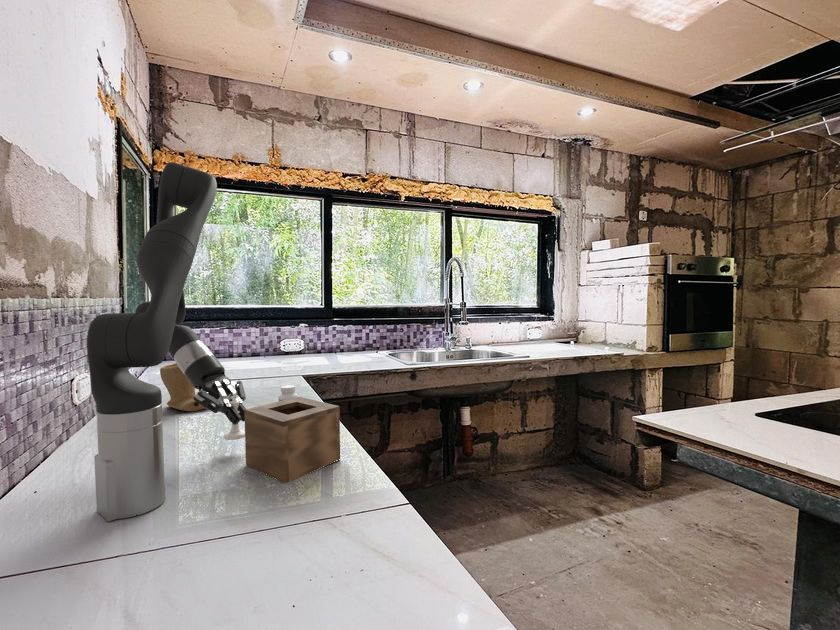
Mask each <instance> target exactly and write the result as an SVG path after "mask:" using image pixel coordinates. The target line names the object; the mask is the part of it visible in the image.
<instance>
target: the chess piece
mask: <svg viewBox="0 0 840 630" xmlns="http://www.w3.org/2000/svg"><path fill="white" fill-rule="evenodd" d="M236 398H238V395H237V396H236V393H233V396H232V397H231V399H233V401H231V402H230V404H231V406H230V407H232V406H233V407H234V409H235V410H236V411H237V413H240V411H238V410H237V409H238V405H239V401H237V400H236ZM241 439H245V429H244V430H243V429H241V428H240V425H239V423H238V424H236V425H234V424H233V423H231V428H230V429H229V430H228V431H227V432H225V433H223V440H226V441H236V440H241Z"/></svg>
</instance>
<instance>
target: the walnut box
mask: <svg viewBox="0 0 840 630" xmlns="http://www.w3.org/2000/svg"><path fill="white" fill-rule="evenodd" d="M244 413H245V421H244V431H245V437H244V442H245V444H244V446H245V447H244V448H245V451H244V452H245V466H246V465H247V466H246V467H248V468H251V469H253V470H255V471H257V472H260V473H261V472H262V473H261V474H263V473H264V475H266V474H267V475H266V476H268V475H269V476H268V477H270V476H271V478H272V477H274V478H276V479H277V481H278V480H279V481H278V482H281V483H283V484H286V483H289V482H291V481H293V479H294V480H296V479H298V477H299V478H301V477H303V475H304V476H306V475H308V473H309V474H311V473H313V472H315V471H314V470H316V471H318V470H320V469H319V468H321V467H323V466H326V465H328V464H330V463H332V462H334V461H336V460H339V459H340V460H341V425H340V424H341V422H340V420H341V419H340V418H341V417H340V416H341V415H340V413H341V412H340V405H336V404H332V403H327V402H325V401H319V400H315V399H311V398H306V397H303V396H298V397H297V398H292V399H288V400H284V401H279V400H278V401H276V402H272V403H267V404H263V405H258V406H255V407H249V408H246V409H245V410H244ZM328 466H329V465H328ZM326 467H327V466H326ZM323 468H324V467H323ZM317 469H318V470H317ZM321 469H322V468H321ZM312 471H313V472H312ZM310 472H311V473H310ZM274 478H273V479H274ZM295 478H296V479H295ZM276 479H275V480H276ZM290 480H291V481H290Z"/></svg>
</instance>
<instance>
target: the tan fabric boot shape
mask: <svg viewBox="0 0 840 630" xmlns="http://www.w3.org/2000/svg"><path fill="white" fill-rule="evenodd" d="M159 373H160V374H159V375H160V379H161V381H162V383H163V385H164V387H165V388H166V390H167V393H168V394H169V397H170V399H169V400H168V401H167V402H166V405H167V406H168V407H169V408H172V409H177V410H179V411H185V412H197V411H201V410H203V409H207V408H206V407H204V406H202V405H201V404H199V403H198V402H196V401H195V400H194V399H193V398H194V397H195V395H196V394H197V393H196V389H195V388H194V387H193V385H192V384H191V383H190V381H189V380H188V379H187V377H186V376H185V375H184V373H183V372H182V371H181V369H180V368H179V367H178V365H177V363H176V362H175V363H172V364H167V365H164V366H162V367H160V369H159ZM210 404H211V405H214V404H213V403H210Z"/></svg>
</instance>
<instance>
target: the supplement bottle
mask: <svg viewBox="0 0 840 630" xmlns="http://www.w3.org/2000/svg"><path fill="white" fill-rule="evenodd" d="M280 392H281V393H280V394H279V395H278V402H279V401H284V400H288V399H292V398H297V397H299V395H298V393H296V385H293V384H289V385H288V384H287V385H282V386H281V387H280Z"/></svg>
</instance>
